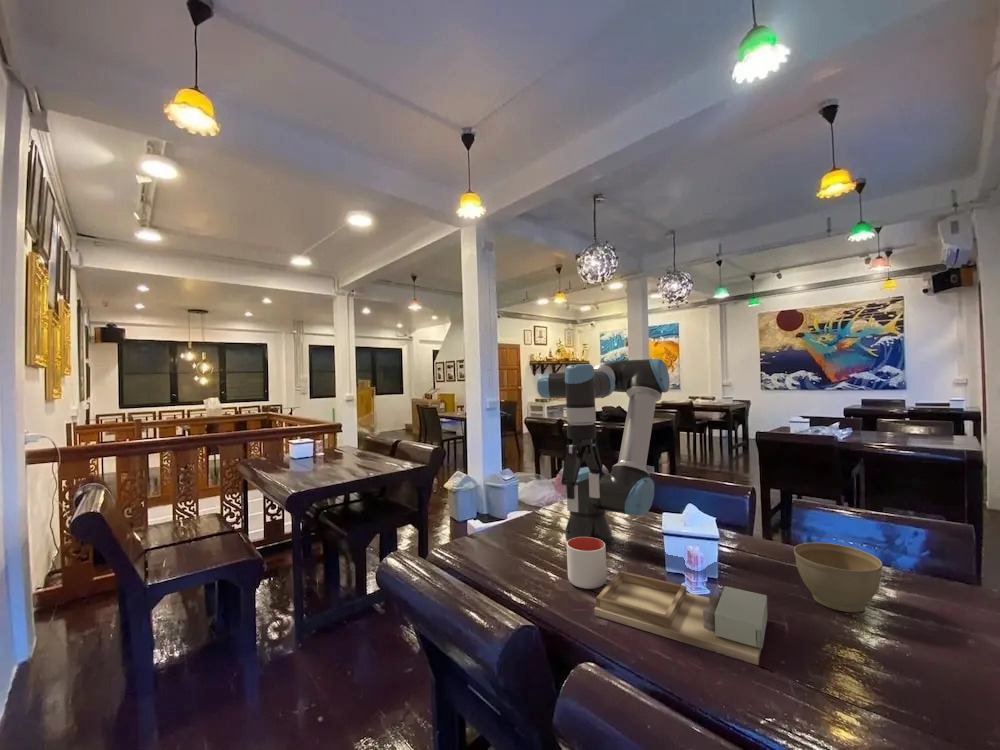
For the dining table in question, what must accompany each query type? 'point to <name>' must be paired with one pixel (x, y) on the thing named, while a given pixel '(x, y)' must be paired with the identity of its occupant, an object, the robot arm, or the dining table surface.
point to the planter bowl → (838, 575)
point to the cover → (741, 616)
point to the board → (668, 613)
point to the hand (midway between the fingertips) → (584, 504)
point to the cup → (586, 562)
